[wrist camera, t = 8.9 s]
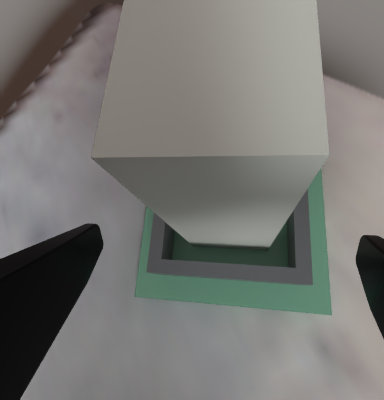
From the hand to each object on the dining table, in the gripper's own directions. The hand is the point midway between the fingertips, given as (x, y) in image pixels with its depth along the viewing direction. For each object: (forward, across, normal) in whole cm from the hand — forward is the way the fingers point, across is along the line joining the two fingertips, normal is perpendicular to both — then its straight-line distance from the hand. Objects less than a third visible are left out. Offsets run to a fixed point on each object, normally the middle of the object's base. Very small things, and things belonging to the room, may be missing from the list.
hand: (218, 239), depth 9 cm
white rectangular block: (+8, 0, +4) cm, 9 cm away
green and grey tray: (+9, 0, +4) cm, 10 cm away
